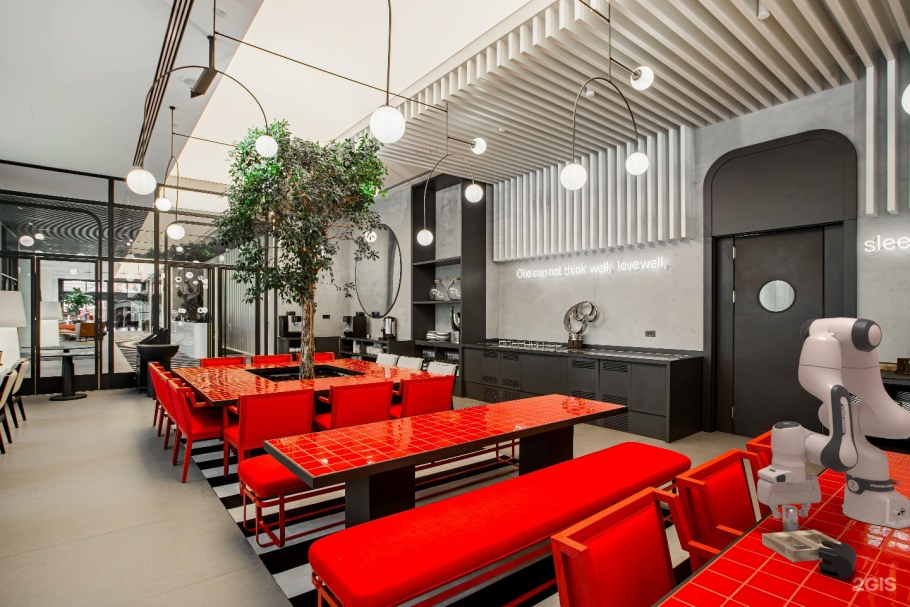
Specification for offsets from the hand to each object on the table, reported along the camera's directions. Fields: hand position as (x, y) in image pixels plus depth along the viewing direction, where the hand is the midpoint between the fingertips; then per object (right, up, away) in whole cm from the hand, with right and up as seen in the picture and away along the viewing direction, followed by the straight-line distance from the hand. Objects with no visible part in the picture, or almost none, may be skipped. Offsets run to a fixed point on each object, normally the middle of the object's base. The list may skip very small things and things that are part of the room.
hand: (790, 517), depth 148 cm
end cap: (-4, -4, -23) cm, 24 cm away
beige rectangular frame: (-4, -5, -11) cm, 13 cm away
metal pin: (0, -5, 0) cm, 5 cm away
